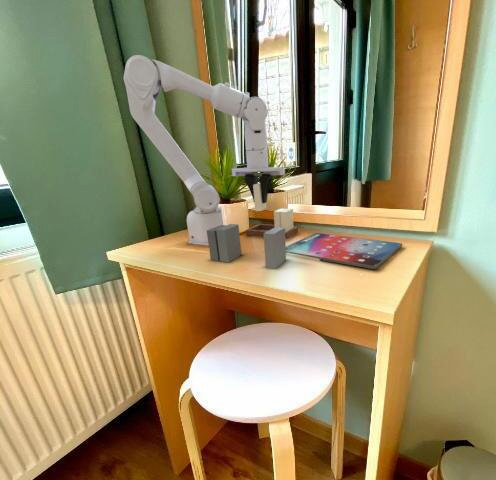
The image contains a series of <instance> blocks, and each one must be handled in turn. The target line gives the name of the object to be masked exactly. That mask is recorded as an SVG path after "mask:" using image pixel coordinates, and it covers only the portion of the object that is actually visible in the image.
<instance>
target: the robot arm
mask: <svg viewBox="0 0 496 480" xmlns="http://www.w3.org/2000/svg"><path fill="white" fill-rule="evenodd" d="M123 82H124V87H125V90H126V94H127V95H126V96H127V101H128V106H129V112H130V116H131V117H132V118H133V119H134V121H135V122H136V124H137V125H138V126H139V127H140V128H141V130H142V131H143V132H144V134H145V135H146V136H147V138H148V139H149V140H150V141H151V143H152V144H153V145H154V146H155V148H156V149H157V151H159V153H160V154H161V156H163V157H164V160H165V161H166V162H167V163H168V164H169V166H170V167H171V168H172V169H173V171H174V172H175V173H176V175H177V176H178V177H179V178H180V180H181V181H182V183H184V185H185V186H186V188H187V190H188V191H189V192H190V194H191V195H192V197H193V201H194V204H195V208H194V209H193V210H191V211H189V212H188V214H187V215H186V226H187V233H188V239H189V241H188V244H195V245H205V246H209V244H208V237H207V230H209V229H212V228H214V227H217V226H220V225H224V218H223V211H222V210H223V209H222V207H221V206H219V205H220V203H221V202H220V201H221V200H220V199H221V198H220V195H219V192H218V191H217V190H216V188H215V187H214V186H213V185H211V184H209V183H208V182H206V180H205V179H204V178H203V177H202V175H201V174H200V172H199V171H198V170H197V169H196V168H195V165H194V164H193V163H192V162H191V161H190V159H189V158H188V157H187V155H186V154H185V153H184V152H183V150H182V149H181V148H180V146H179V145H178V143H177V141H176V140H175V139H174V138H173V137H172V135H171V134H170V133H169V131H168V130H167V129H166V127H165V126H164V125H163V123H162V122H161V121H160V120H159V117H157V115H156V114H155V112H156V103H157V98H158V97H159V94H160V92H161V90H162V89H163V92H164V93H167V92H170V91H173V90H179V91H181V92H184V93H186V94H190V95H193V96H196V97H198V98H201V99H204V100H206V101H209V102H210V103H211V105H212V108H213V109H214V110H217V111H219V112H221V113H223V114H227V115H229V116H232V117H234V118H237V119H242V122H243V126H244V133H243V134H244V145H245V157H246V167H236V168H231V176H232V177H244V178H243V181H244V182H245V184H246V186H247V188H248V189H249V192H250V194H251V197H252V200H253V201H254V190H253V185H254V184H257V183H260V185H261V193H262V203H266V204H267V202H268V194H269V190H270V186H271V184H272V181H273V178H274V176H285V175H286V167H285V166H269V155H268V153H269V152H268V137H267V136H268V135H267V127H266V126H267V125H266V119H267V117H268V114H269V109H268V108H267V105H266V103H265V102H264V100H263V99H262V98H261V97H259V96H251V97H250V92H248V91H245V92H243V91H241V90H238V89H235V88H233V87H231V83H229V82H227V81H225V82H224V83H222V82H219V83H217V84H215V85H212V84H209V83H207V82H205V81H204V80H201V79H198V78H197V77H194V76H192V75H190V74H188V73H186V72H184V71H182V70H180V69H178V68H176V67H173V66H171V65H169V64H166V63H164V62H162V61H160V60H156V59H150V58H148V57H147V56H145V55H140V54H135V55H132V56H131V57H129V58H128V59H127V61H126V63H125V66H124V73H123Z"/></svg>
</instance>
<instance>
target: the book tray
mask: <svg viewBox="0 0 496 480" xmlns="http://www.w3.org/2000/svg"><path fill="white" fill-rule="evenodd" d="M293 227H294V228H293V229H291V230H289V231H288V232H286V233H285V240H287V239H289V238H291V237H292V236H293V235H295V234H297V233H298V232H299V226H296V225H295V226H294V225H293ZM273 228H275V226H274V224H267V223H266V224H265V223H259V224H256V225H254V226H252V227H250V228H247V229H245V236H251V237H263V238H264V233H265V232H267V231H269V230H271V229H273Z"/></svg>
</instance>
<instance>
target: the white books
mask: <svg viewBox="0 0 496 480" xmlns="http://www.w3.org/2000/svg"><path fill="white" fill-rule="evenodd" d="M273 223H274V224H273V225H274V226H275V227H280V228H285V233H286V232H288V231H289V230H291V229H293V228H294V227H293V226H294V208H278V209H276V210H273Z"/></svg>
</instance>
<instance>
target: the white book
mask: <svg viewBox="0 0 496 480" xmlns="http://www.w3.org/2000/svg"><path fill="white" fill-rule="evenodd" d="M253 190H254V200H253V204H254V211H255V212H262V211H264V210H266V209H267V202H266V203H262V193H261V185H260V182H258V183H257V184H254V185H253Z"/></svg>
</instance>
